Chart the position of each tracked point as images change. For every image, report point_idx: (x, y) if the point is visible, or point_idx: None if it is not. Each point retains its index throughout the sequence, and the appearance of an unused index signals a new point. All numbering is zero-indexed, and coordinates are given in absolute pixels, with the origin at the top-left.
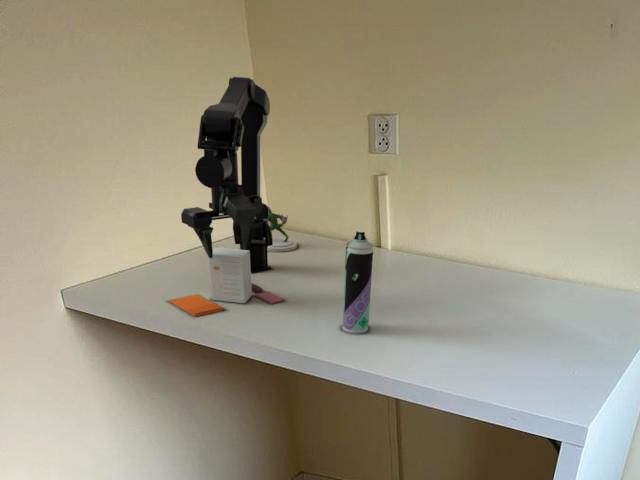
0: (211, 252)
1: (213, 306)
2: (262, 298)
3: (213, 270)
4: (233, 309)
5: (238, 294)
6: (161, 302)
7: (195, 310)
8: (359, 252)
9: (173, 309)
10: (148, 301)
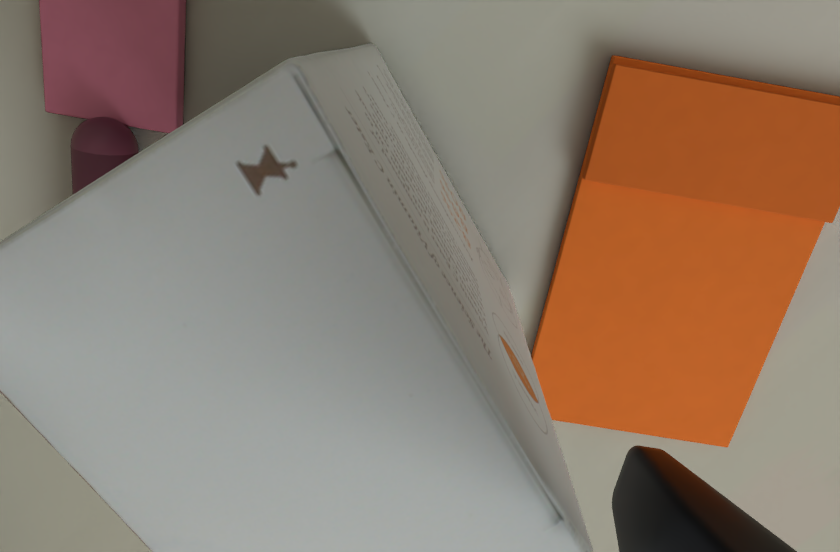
0: (699, 496)
1: (652, 135)
2: (181, 16)
3: (532, 381)
4: (537, 12)
5: (400, 97)
6: (764, 464)
7: (816, 164)
8: None
9: (828, 325)
10: (798, 520)
